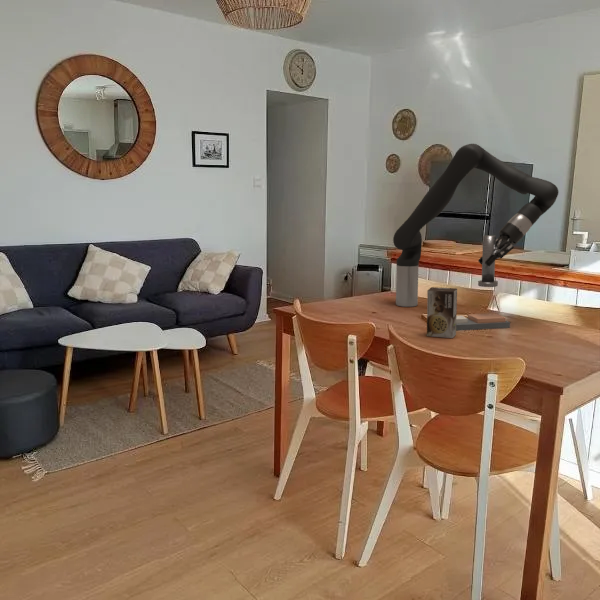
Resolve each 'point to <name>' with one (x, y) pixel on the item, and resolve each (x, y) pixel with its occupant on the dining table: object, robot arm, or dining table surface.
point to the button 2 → (486, 318)
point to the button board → (481, 325)
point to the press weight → (487, 271)
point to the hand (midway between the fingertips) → (483, 263)
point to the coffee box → (441, 312)
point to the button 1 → (461, 319)
